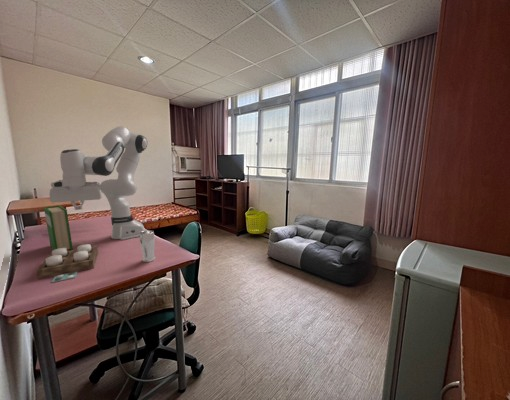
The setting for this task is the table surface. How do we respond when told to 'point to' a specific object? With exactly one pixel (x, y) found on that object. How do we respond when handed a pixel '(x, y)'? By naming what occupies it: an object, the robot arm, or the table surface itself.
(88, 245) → the button
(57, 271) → the wooden compartment tray
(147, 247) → the beer glass
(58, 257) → the button
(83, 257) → the button
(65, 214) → the hardback book
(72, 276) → the card
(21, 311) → the table surface
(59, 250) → the button
